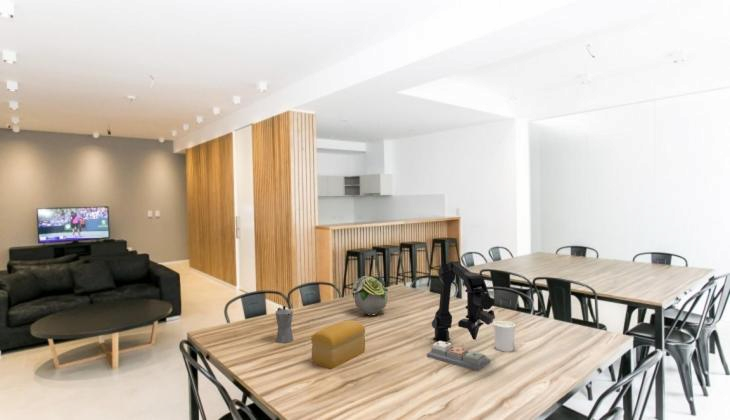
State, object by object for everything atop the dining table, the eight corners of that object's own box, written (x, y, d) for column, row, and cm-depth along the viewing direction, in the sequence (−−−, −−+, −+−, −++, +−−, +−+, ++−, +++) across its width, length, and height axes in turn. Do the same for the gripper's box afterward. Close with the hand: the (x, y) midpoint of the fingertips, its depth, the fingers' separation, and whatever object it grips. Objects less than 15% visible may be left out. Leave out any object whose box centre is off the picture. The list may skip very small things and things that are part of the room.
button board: (427, 356, 182) (427, 349, 182) (440, 349, 191) (440, 341, 191) (477, 371, 166) (477, 363, 166) (490, 362, 175) (489, 354, 175)
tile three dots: (448, 356, 178) (448, 350, 178) (455, 352, 183) (455, 346, 183) (460, 359, 174) (460, 353, 174) (467, 355, 179) (467, 349, 179)
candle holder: (501, 353, 185) (501, 328, 185) (489, 346, 194) (489, 321, 194) (519, 351, 187) (519, 325, 187) (507, 343, 197) (506, 320, 197)
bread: (345, 346, 197) (344, 316, 197) (366, 352, 189) (365, 320, 189) (310, 362, 178) (310, 329, 177) (332, 369, 170) (331, 335, 170)
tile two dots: (433, 349, 184) (433, 343, 184) (440, 345, 188) (439, 340, 188) (444, 352, 180) (444, 346, 180) (451, 348, 184) (451, 343, 184)
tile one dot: (464, 360, 173) (464, 354, 173) (471, 356, 178) (471, 350, 178) (477, 364, 169) (477, 357, 169) (483, 359, 174) (483, 353, 174)
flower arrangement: (345, 311, 259) (345, 274, 259) (379, 306, 270) (379, 271, 269) (361, 321, 237) (360, 281, 236) (397, 316, 247) (397, 277, 247)
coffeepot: (298, 341, 204) (297, 307, 204) (280, 345, 199) (280, 310, 199) (286, 333, 217) (286, 301, 217) (270, 337, 212) (269, 304, 211)
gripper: (482, 311, 160) (482, 349, 161) (500, 302, 174) (501, 337, 175) (457, 307, 168) (457, 343, 168) (476, 298, 182) (477, 332, 182)
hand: (474, 339), depth 173 cm, fingers closed
